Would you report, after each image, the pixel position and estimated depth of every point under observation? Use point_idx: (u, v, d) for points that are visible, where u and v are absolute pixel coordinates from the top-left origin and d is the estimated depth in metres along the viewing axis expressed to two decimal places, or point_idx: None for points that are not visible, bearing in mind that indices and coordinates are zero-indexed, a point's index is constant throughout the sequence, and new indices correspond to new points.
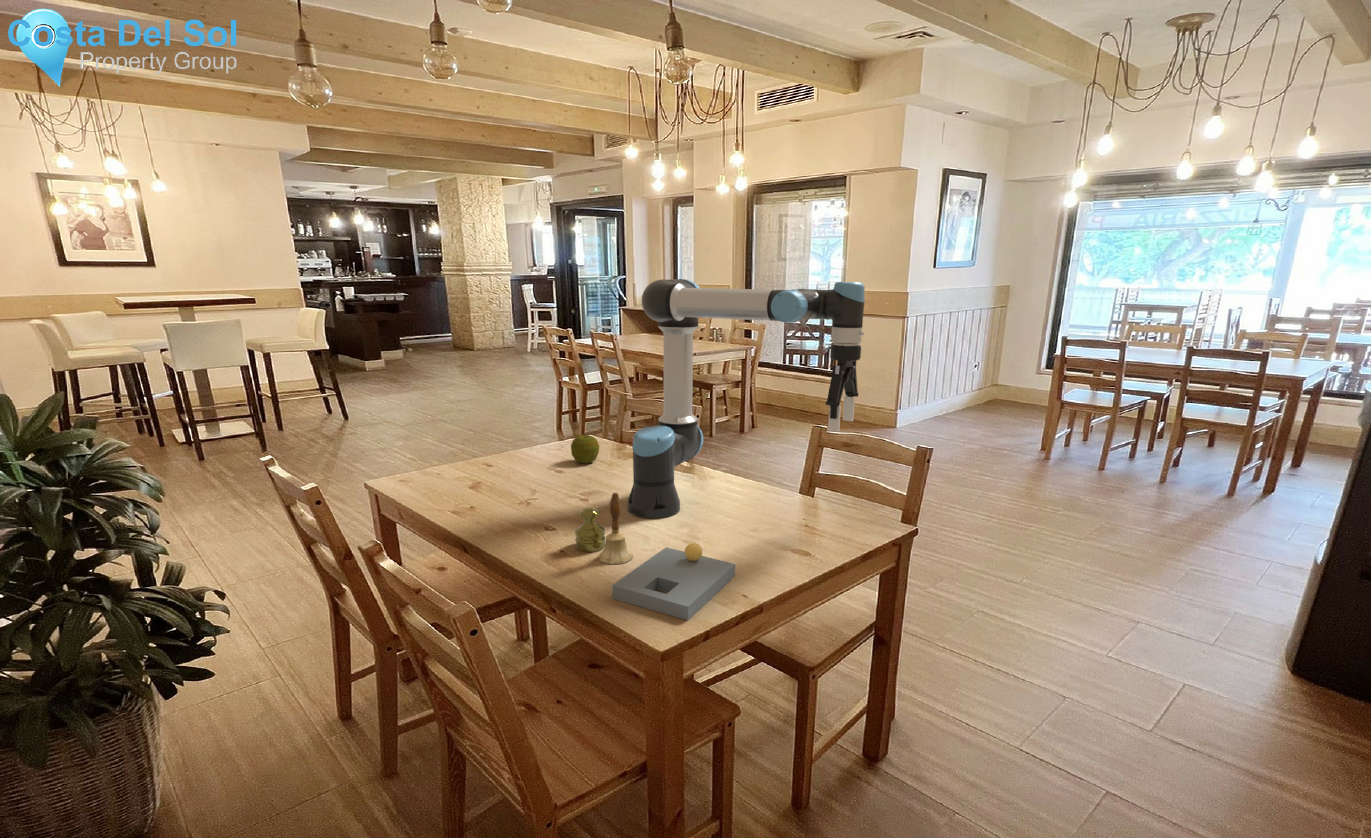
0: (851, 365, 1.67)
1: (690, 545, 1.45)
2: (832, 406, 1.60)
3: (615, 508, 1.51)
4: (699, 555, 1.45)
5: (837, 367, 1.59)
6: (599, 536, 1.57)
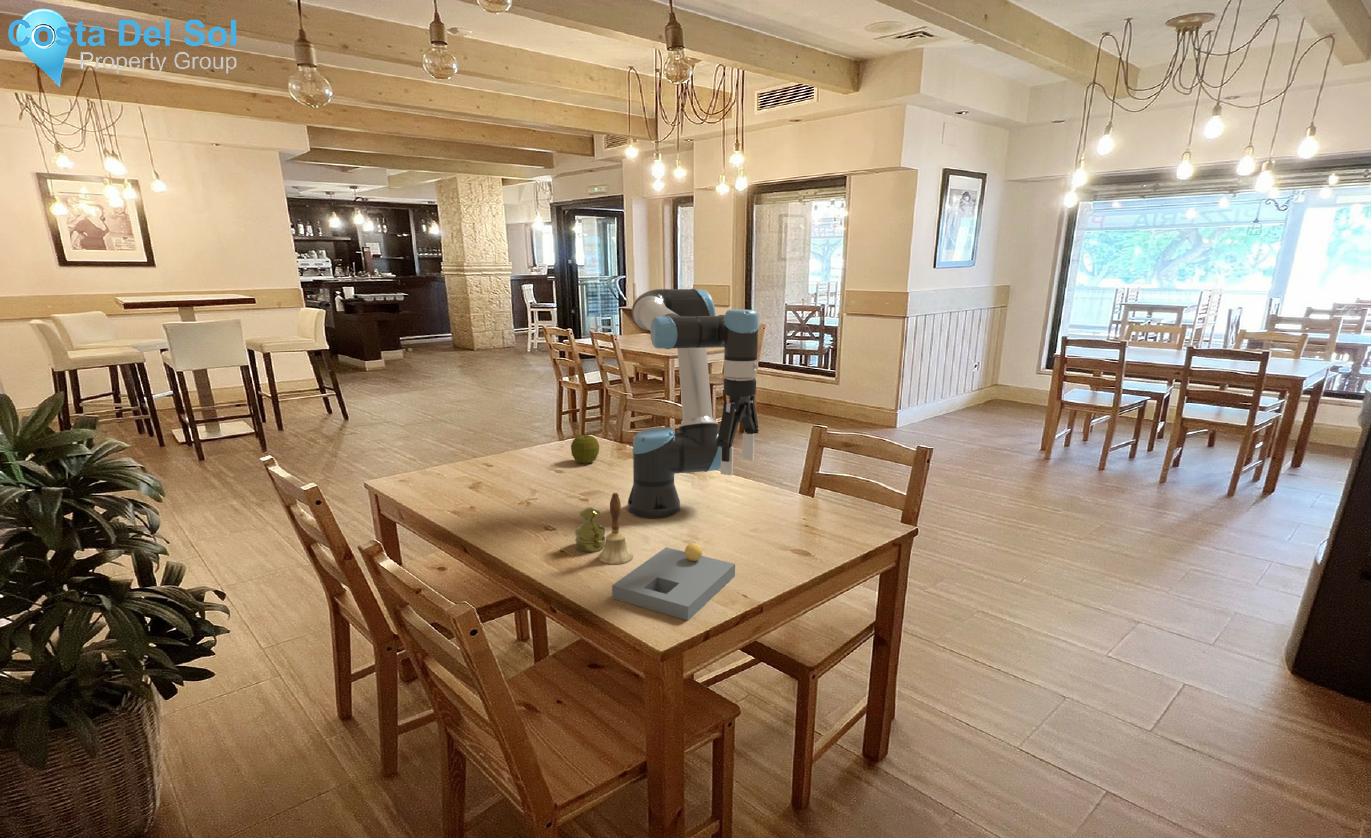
0: (747, 400, 1.51)
1: (690, 545, 1.45)
2: (723, 448, 1.44)
3: (615, 508, 1.51)
4: (699, 555, 1.45)
5: (728, 405, 1.43)
6: (599, 536, 1.57)
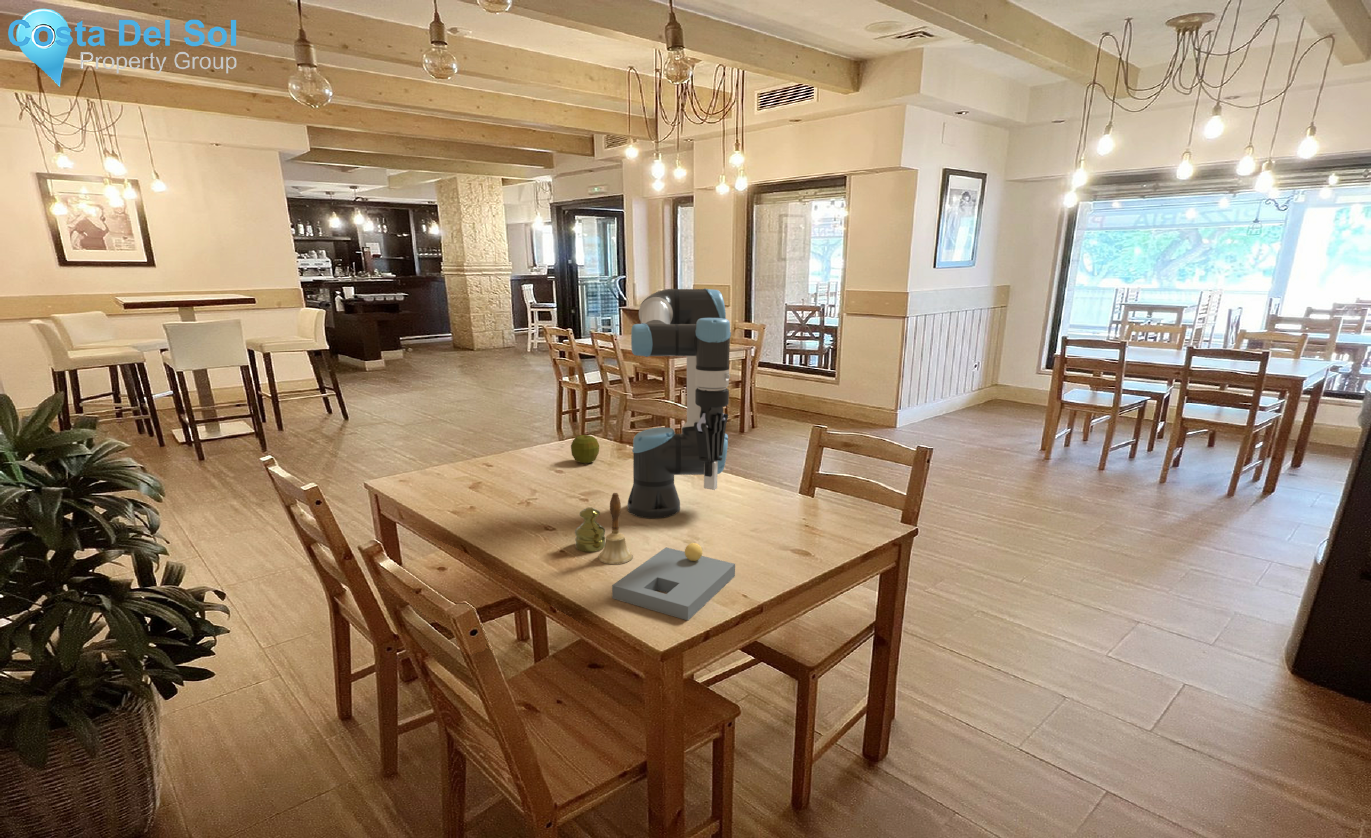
0: (721, 409, 1.48)
1: (690, 545, 1.45)
2: (706, 463, 1.47)
3: (615, 508, 1.51)
4: (699, 555, 1.45)
5: (698, 426, 1.41)
6: (599, 536, 1.57)
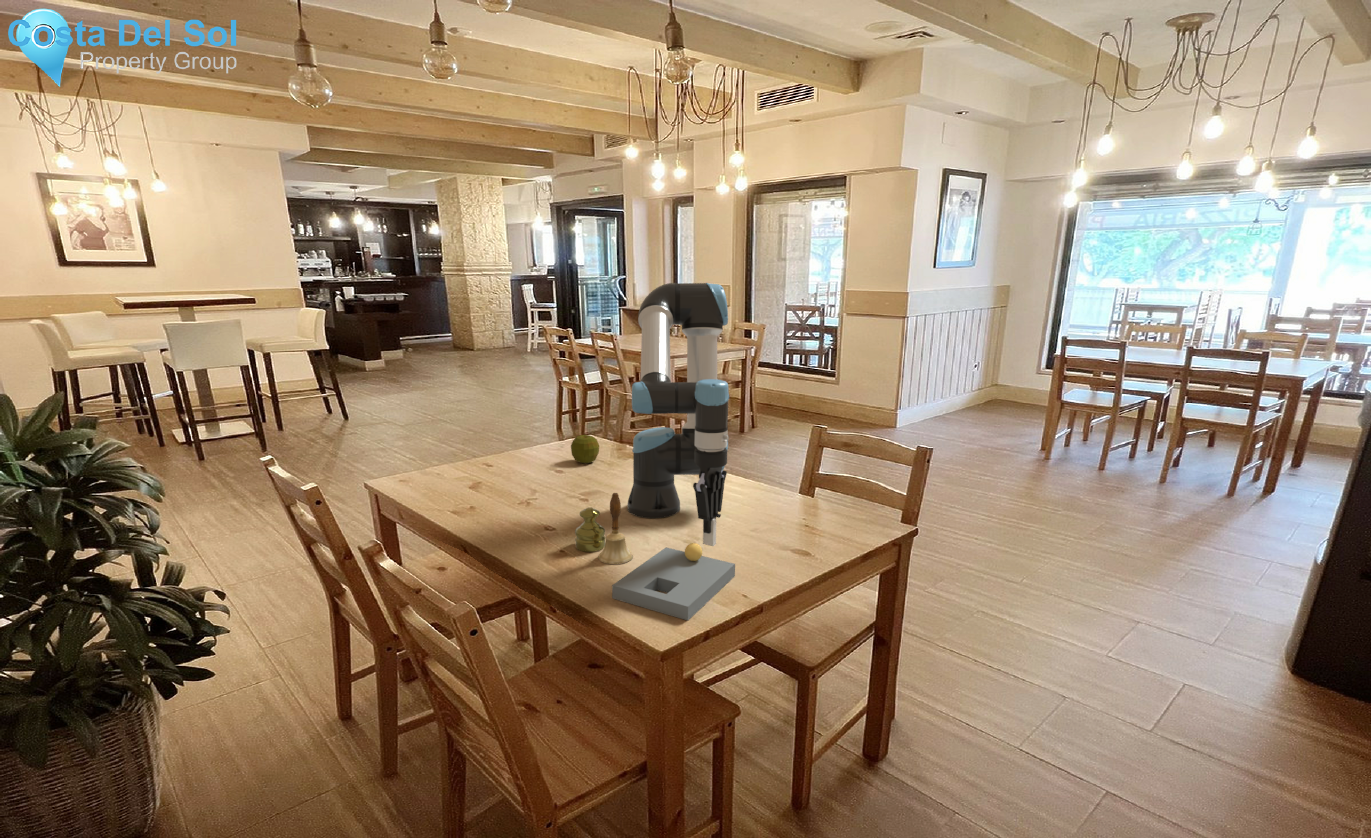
0: (719, 467, 1.51)
1: (690, 545, 1.45)
2: (705, 520, 1.50)
3: (615, 508, 1.51)
4: (699, 555, 1.45)
5: (697, 487, 1.44)
6: (599, 536, 1.57)
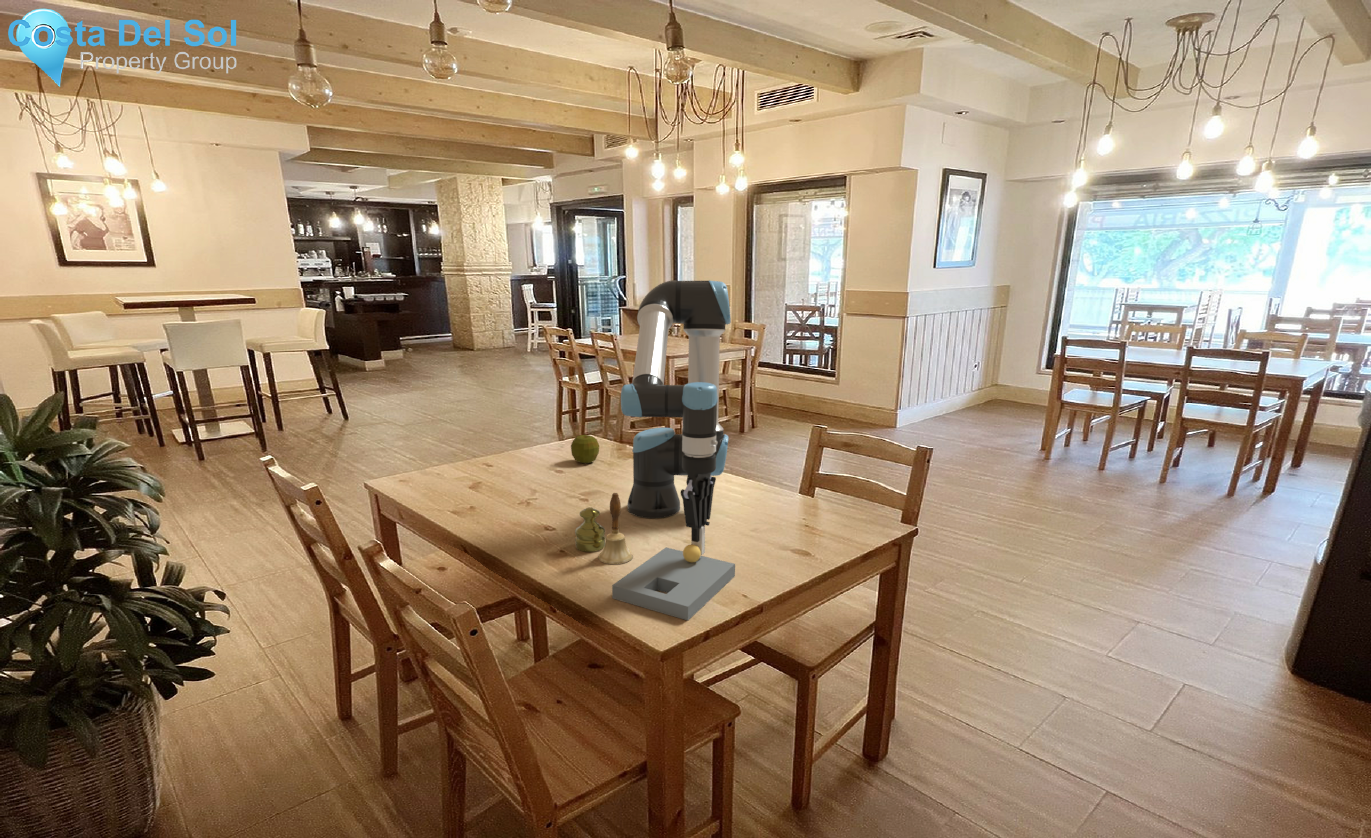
0: (708, 473, 1.46)
1: (687, 549, 1.44)
2: (693, 528, 1.45)
3: (615, 508, 1.51)
4: (697, 557, 1.44)
5: (685, 494, 1.39)
6: (599, 536, 1.57)
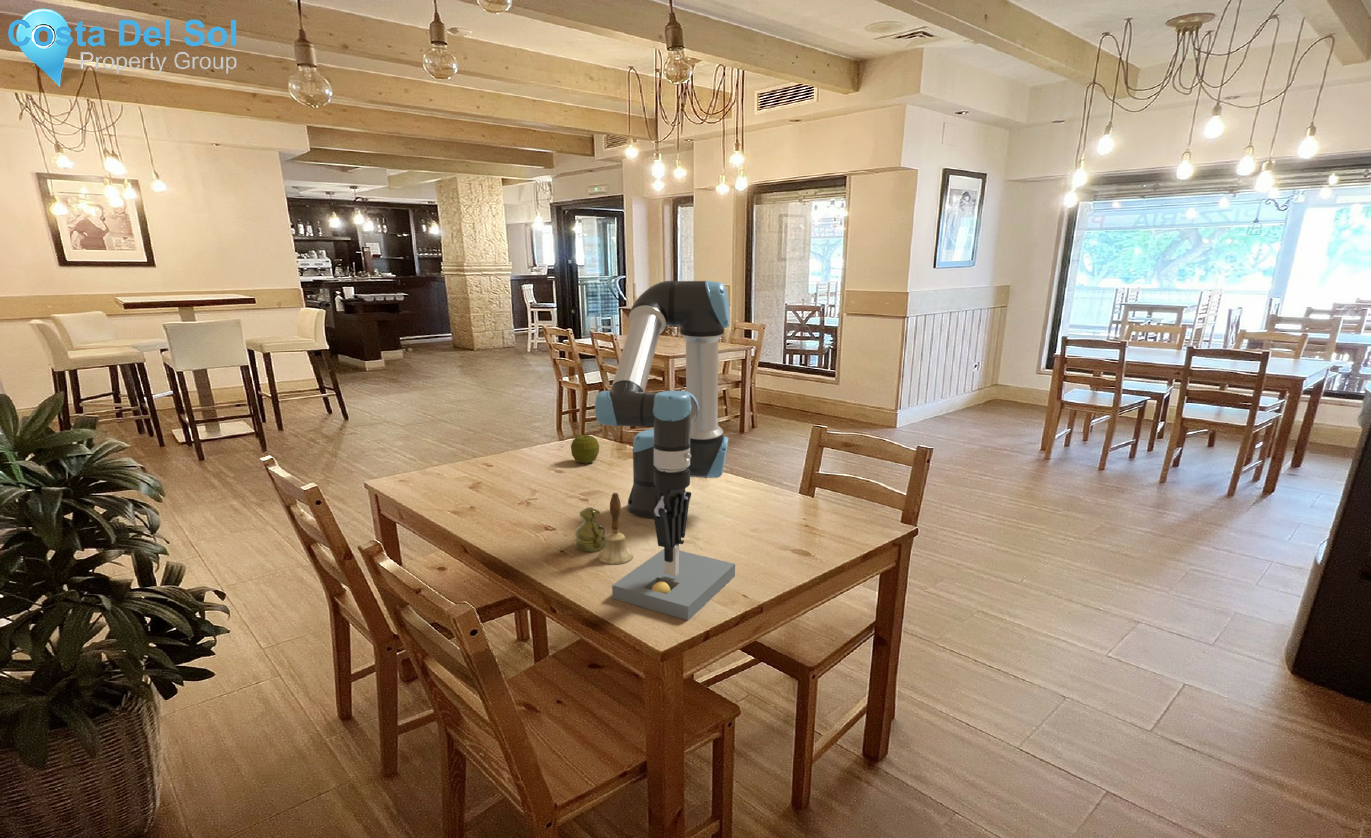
0: (682, 489, 1.35)
1: None
2: (666, 548, 1.35)
3: (615, 508, 1.51)
4: None
5: (656, 512, 1.29)
6: (599, 536, 1.57)
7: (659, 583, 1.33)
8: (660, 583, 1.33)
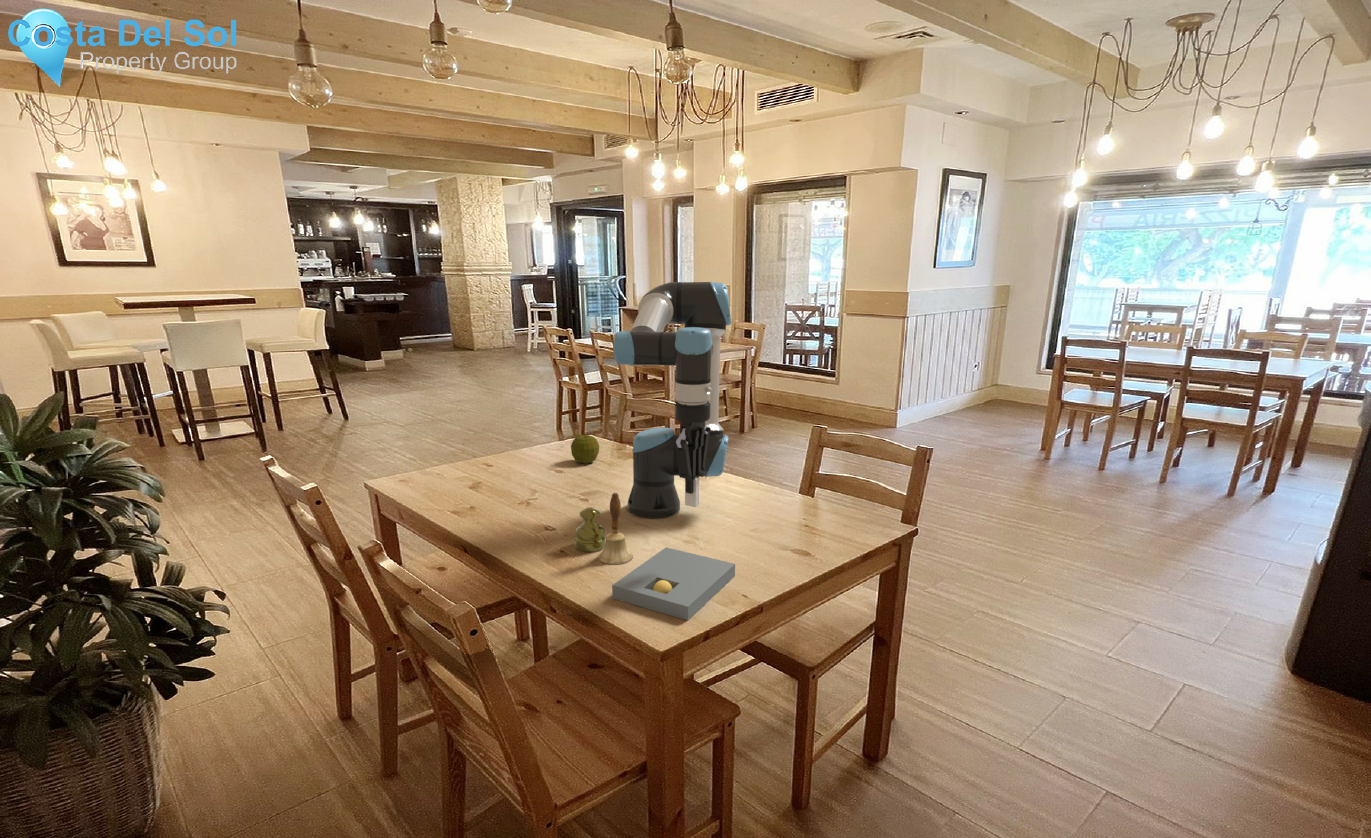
0: (702, 423, 1.40)
1: None
2: (687, 479, 1.40)
3: (615, 508, 1.51)
4: None
5: (678, 443, 1.34)
6: (599, 536, 1.57)
7: (662, 580, 1.34)
8: (663, 580, 1.34)
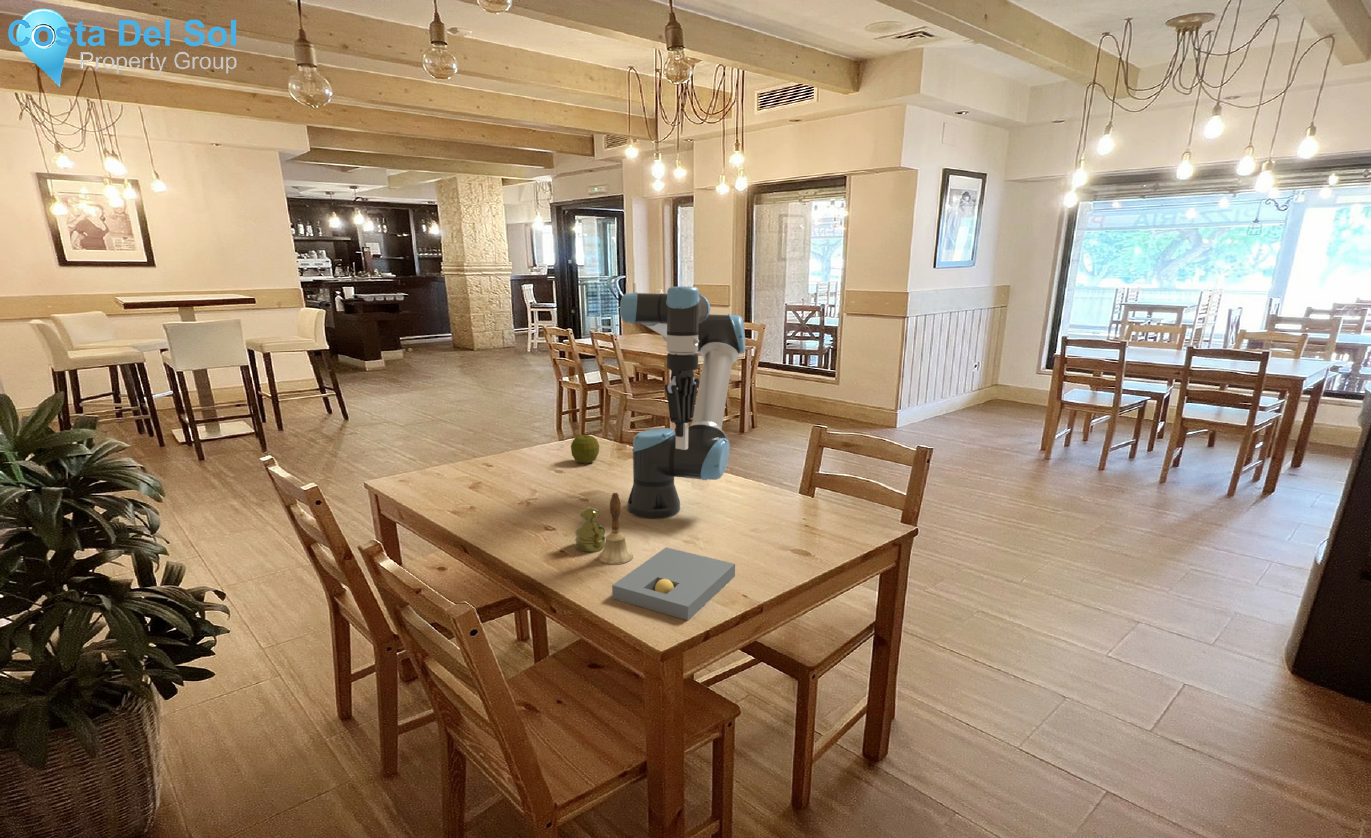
0: (691, 373, 1.57)
1: (658, 589, 1.34)
2: (677, 424, 1.56)
3: (615, 508, 1.51)
4: None
5: (669, 388, 1.50)
6: (599, 536, 1.57)
7: (666, 579, 1.36)
8: (667, 579, 1.36)
